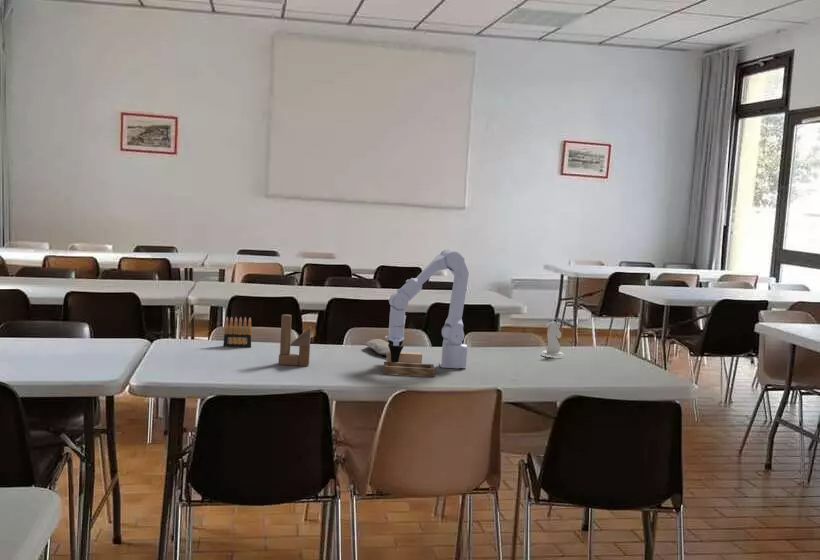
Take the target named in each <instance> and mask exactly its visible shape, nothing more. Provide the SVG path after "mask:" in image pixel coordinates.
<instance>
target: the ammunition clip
mask: <svg viewBox="0 0 820 560" xmlns="http://www.w3.org/2000/svg"><path fill="white" fill-rule="evenodd" d="M233 319H234V320H233ZM238 320H239V321H238ZM223 330H224V333H223V345H222V346H223V348H245V349H246V348H250V349H251V348H252V317H249V318H248V322H247V317H246V316H244V318H243V319H242V316H240V317H239V319H238V318H237V316H235V317H234V318H233V316H231V317H230V320H229V317H228V316H226V317H225V322H224V329H223Z"/></svg>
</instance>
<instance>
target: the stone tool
mask: <svg viewBox="0 0 820 560" xmlns="http://www.w3.org/2000/svg"><path fill="white" fill-rule="evenodd" d="M388 344H389V343H388V341H385V340H384V339H381V338H374V339H370V340H368V341H367V342H364V345H365V346H367V347H368V348H370V349H372V350H374V351H375V353H377V354H378V355H380V354H381V356H383V355H384V356H383V357H387V351H390V349H389V347H388Z"/></svg>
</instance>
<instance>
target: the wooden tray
mask: <svg viewBox="0 0 820 560" xmlns="http://www.w3.org/2000/svg"><path fill="white" fill-rule="evenodd" d="M435 370H436V368H435V365H434V364H432V363H422V364H418V363H400V362H386V361H383V375H388V374H398V375H397V376H407V375H414V376H413V377H426V378H427V377H429V378H435V374H436V373H435V372H436V371H435Z"/></svg>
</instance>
